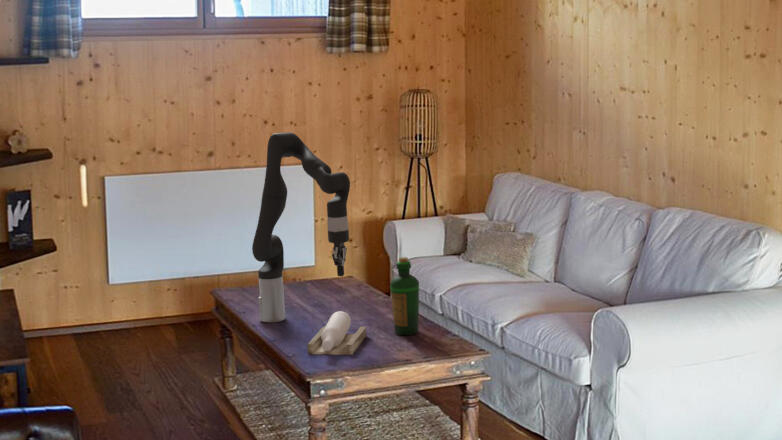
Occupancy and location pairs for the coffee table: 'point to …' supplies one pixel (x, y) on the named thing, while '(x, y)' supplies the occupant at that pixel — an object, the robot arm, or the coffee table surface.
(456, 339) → the coffee table surface
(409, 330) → the bottle
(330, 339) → the bottle
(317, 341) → the cradle
